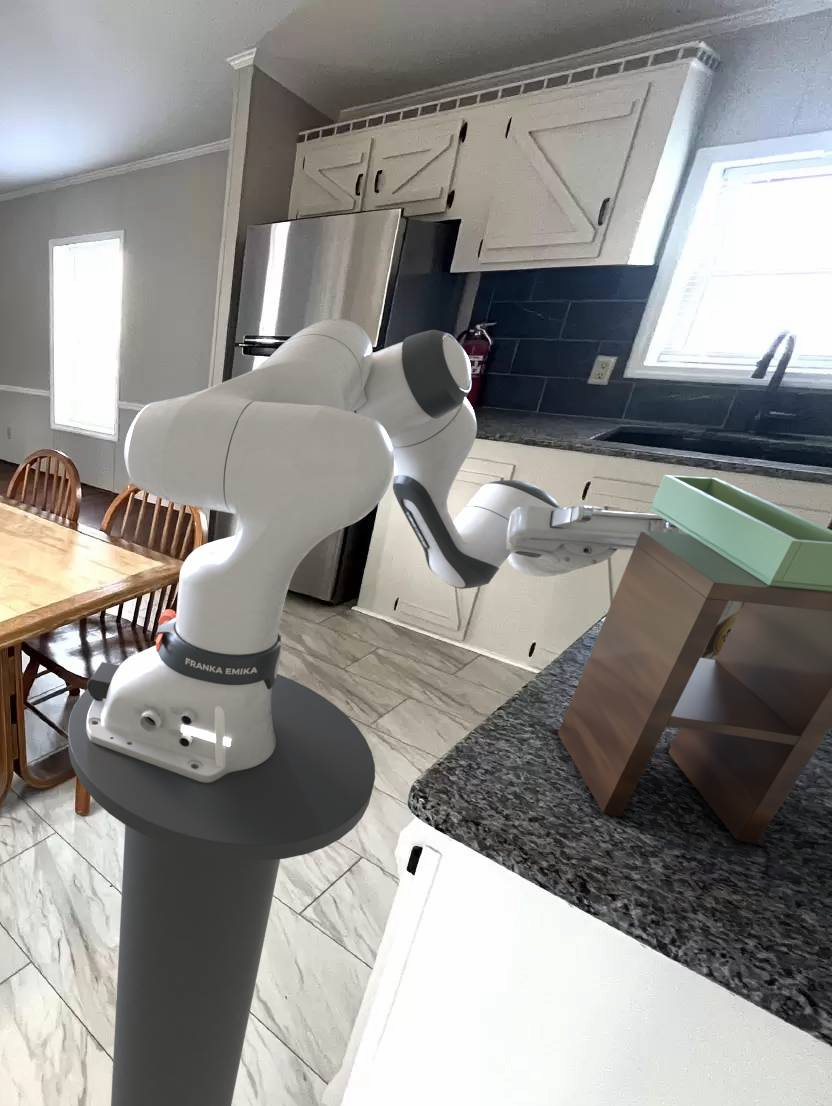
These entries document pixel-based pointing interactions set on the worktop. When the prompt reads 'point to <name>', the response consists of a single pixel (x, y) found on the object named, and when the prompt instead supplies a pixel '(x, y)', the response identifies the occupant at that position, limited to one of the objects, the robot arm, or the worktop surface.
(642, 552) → the shelf stand
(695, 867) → the worktop surface
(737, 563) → the storage tray
